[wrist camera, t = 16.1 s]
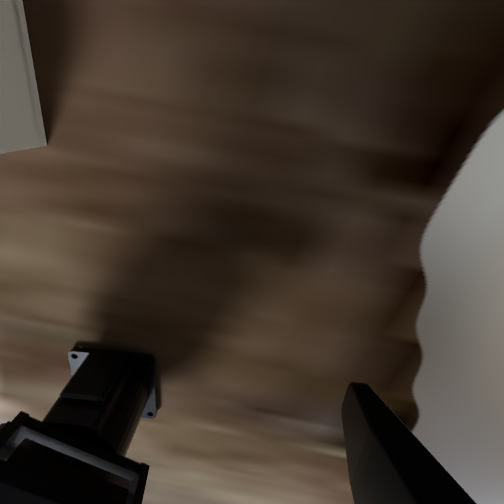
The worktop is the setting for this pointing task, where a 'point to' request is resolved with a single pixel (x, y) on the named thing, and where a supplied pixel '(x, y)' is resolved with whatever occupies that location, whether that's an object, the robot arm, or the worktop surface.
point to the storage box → (18, 83)
